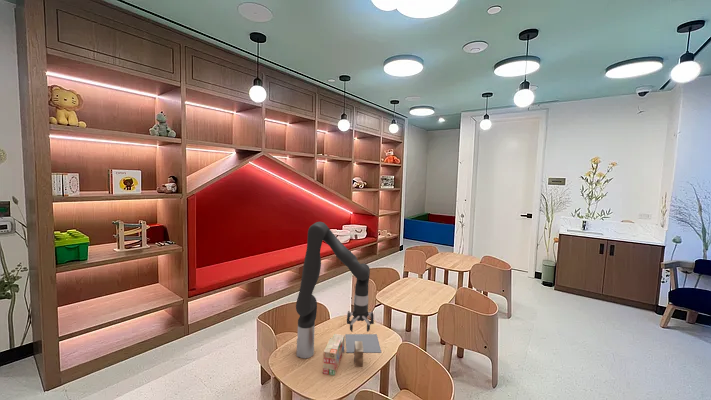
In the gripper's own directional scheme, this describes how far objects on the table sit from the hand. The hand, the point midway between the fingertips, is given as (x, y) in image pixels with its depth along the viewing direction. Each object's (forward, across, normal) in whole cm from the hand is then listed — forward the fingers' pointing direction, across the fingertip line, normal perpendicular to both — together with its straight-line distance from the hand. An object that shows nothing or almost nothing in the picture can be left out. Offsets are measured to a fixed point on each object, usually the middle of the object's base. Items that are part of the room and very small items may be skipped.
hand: (359, 330), depth 155 cm
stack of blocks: (+18, -13, +1) cm, 22 cm away
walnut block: (+18, 0, 0) cm, 18 cm away
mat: (+18, +4, +17) cm, 25 cm away
